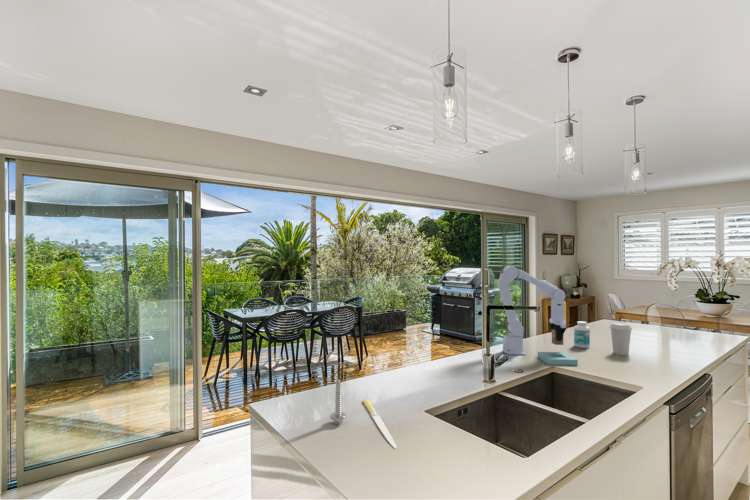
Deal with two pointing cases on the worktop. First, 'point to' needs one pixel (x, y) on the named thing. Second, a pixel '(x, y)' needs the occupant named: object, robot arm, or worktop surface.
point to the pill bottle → (582, 335)
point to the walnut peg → (555, 338)
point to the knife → (379, 422)
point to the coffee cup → (621, 338)
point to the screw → (338, 406)
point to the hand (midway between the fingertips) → (557, 339)
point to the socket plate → (557, 358)
